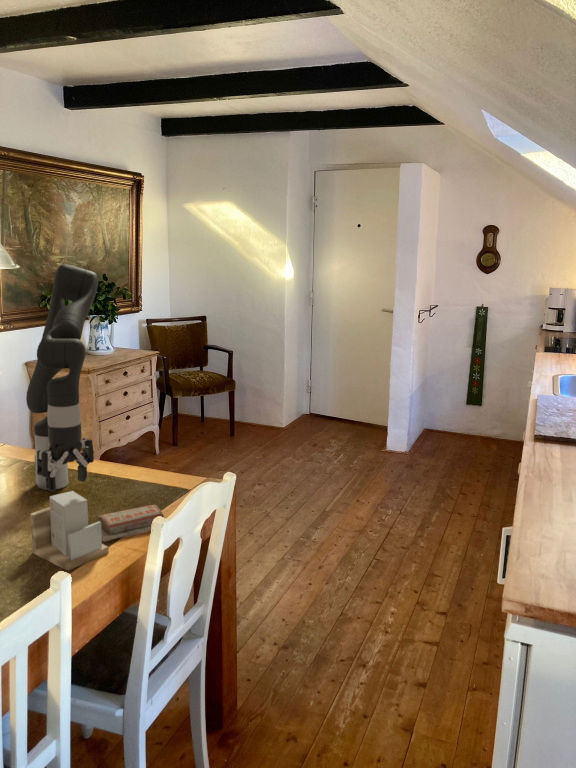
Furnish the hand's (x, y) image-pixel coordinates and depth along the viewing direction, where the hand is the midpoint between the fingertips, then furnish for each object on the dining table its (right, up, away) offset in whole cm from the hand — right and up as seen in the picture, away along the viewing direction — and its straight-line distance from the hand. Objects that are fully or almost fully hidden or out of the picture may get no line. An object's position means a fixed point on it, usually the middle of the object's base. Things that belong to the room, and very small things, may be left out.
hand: (67, 485), depth 158 cm
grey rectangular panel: (+4, -17, 0) cm, 17 cm away
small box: (0, -16, +4) cm, 17 cm away
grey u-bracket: (0, -17, +4) cm, 18 cm away
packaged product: (+11, -15, +19) cm, 27 cm away
